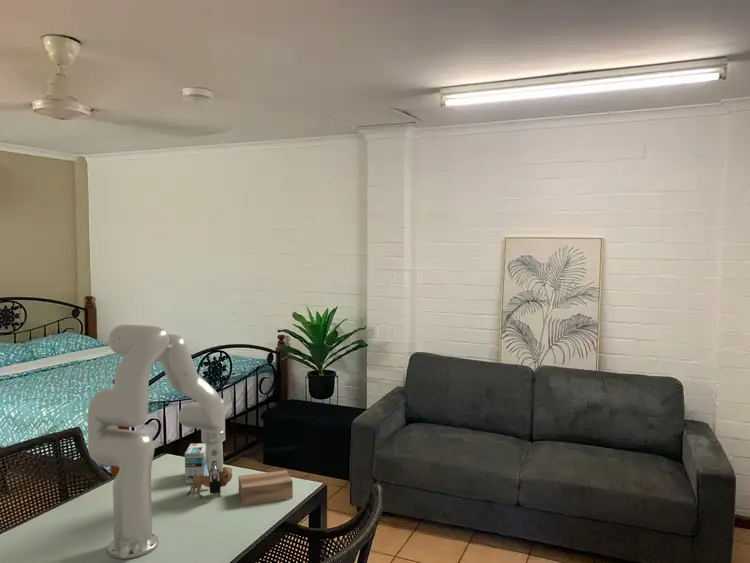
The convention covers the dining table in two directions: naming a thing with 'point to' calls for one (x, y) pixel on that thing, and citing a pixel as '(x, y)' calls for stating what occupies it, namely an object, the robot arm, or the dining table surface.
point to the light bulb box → (195, 462)
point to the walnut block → (265, 487)
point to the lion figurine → (205, 481)
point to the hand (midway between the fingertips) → (214, 486)
